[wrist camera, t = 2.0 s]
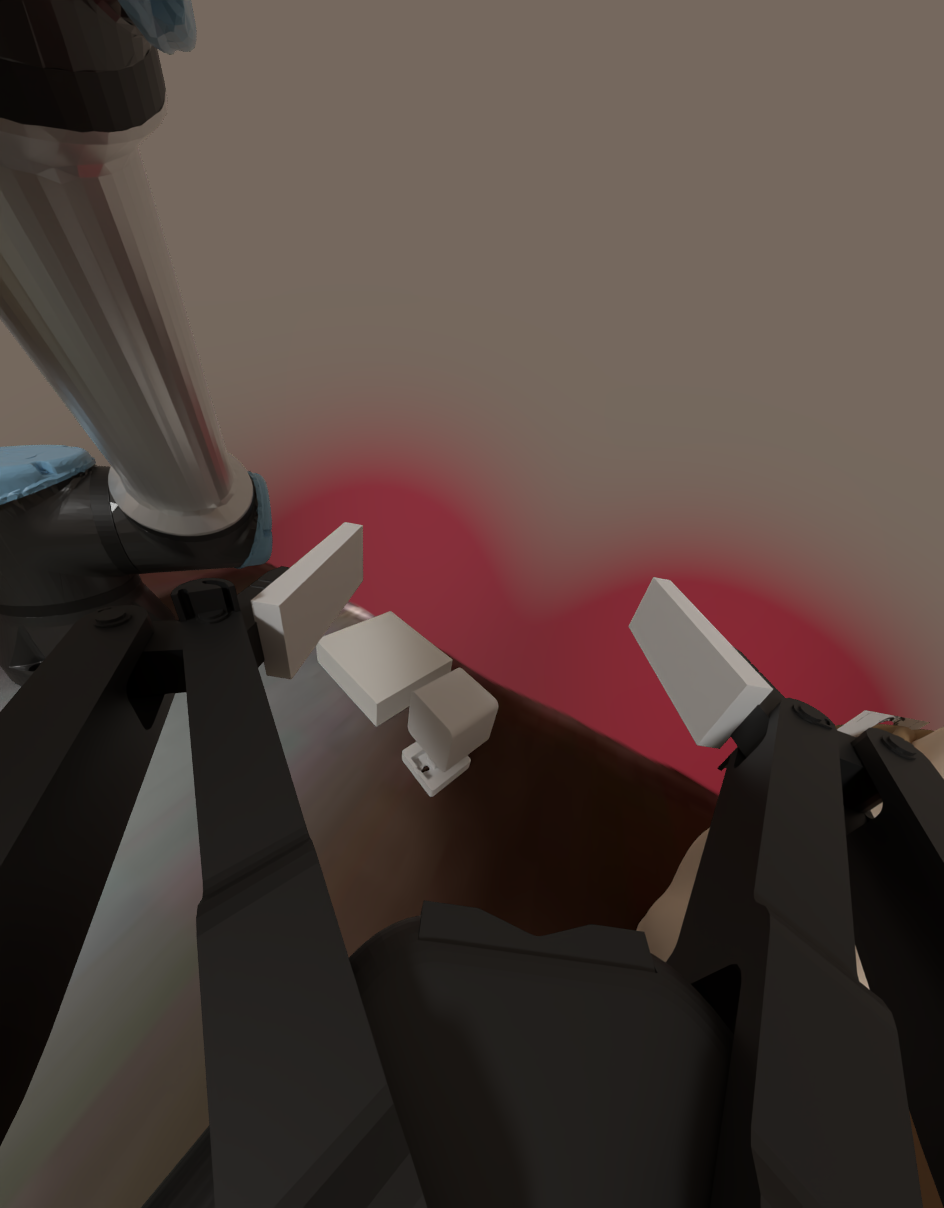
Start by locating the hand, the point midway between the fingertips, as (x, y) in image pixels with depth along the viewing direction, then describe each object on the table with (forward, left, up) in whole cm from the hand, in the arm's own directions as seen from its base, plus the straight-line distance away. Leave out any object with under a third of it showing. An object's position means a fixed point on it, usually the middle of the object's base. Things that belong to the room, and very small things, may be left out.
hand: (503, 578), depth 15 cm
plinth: (-21, +9, -28) cm, 36 cm away
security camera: (-6, +6, -28) cm, 30 cm away
